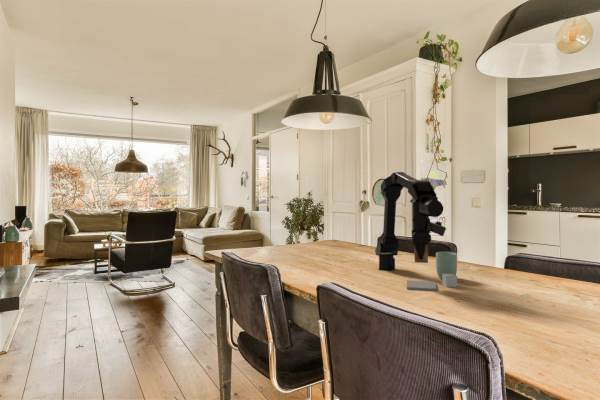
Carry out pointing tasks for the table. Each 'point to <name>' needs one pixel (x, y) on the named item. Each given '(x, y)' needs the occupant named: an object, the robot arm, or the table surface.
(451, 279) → the painted cube
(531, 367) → the table surface
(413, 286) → the coaster
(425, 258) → the walnut block
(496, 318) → the table surface
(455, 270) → the cup
